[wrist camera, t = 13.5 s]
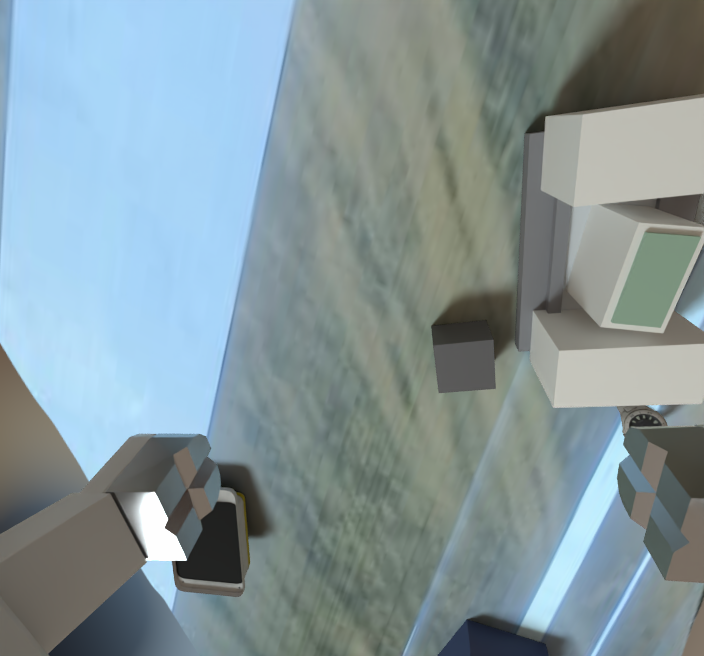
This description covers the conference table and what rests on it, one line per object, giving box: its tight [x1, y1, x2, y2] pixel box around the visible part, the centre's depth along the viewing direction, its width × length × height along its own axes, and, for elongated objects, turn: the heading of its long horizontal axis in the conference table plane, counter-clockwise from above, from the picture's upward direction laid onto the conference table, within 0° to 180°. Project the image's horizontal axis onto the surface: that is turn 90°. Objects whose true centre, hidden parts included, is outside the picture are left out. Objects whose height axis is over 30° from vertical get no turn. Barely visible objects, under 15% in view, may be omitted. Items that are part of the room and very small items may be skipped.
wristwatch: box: [617, 405, 667, 437], centre depth 38 cm, size 4×6×5 cm, turn 44°
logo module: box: [565, 203, 704, 333], centre depth 29 cm, size 7×4×7 cm, turn 177°
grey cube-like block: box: [431, 320, 496, 393], centre depth 38 cm, size 5×5×4 cm
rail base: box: [515, 94, 704, 408], centre depth 30 cm, size 20×12×8 cm, turn 8°
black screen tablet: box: [172, 487, 250, 597], centre depth 53 cm, size 9×4×15 cm
